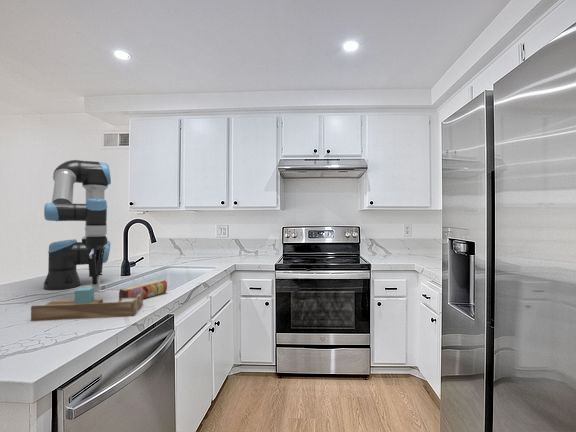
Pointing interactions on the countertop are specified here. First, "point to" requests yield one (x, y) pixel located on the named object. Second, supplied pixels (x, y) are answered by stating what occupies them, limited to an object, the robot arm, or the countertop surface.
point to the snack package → (144, 289)
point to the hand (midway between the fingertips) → (95, 291)
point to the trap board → (86, 309)
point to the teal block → (84, 295)
